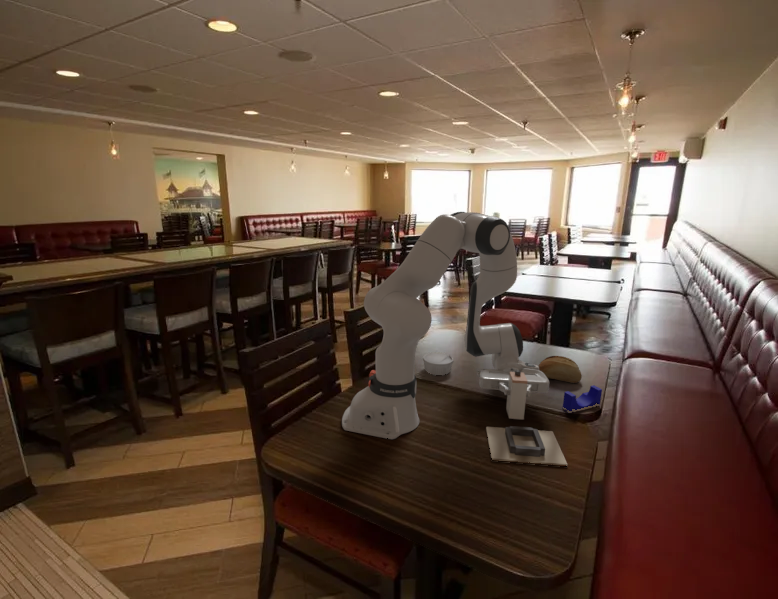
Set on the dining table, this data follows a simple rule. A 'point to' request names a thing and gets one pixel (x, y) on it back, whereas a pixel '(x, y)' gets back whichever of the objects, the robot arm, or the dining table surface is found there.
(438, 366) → the ramekin
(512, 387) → the white and orange block
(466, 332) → the robot arm
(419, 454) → the dining table surface
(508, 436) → the board
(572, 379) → the bread roll
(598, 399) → the cable clip
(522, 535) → the dining table surface
